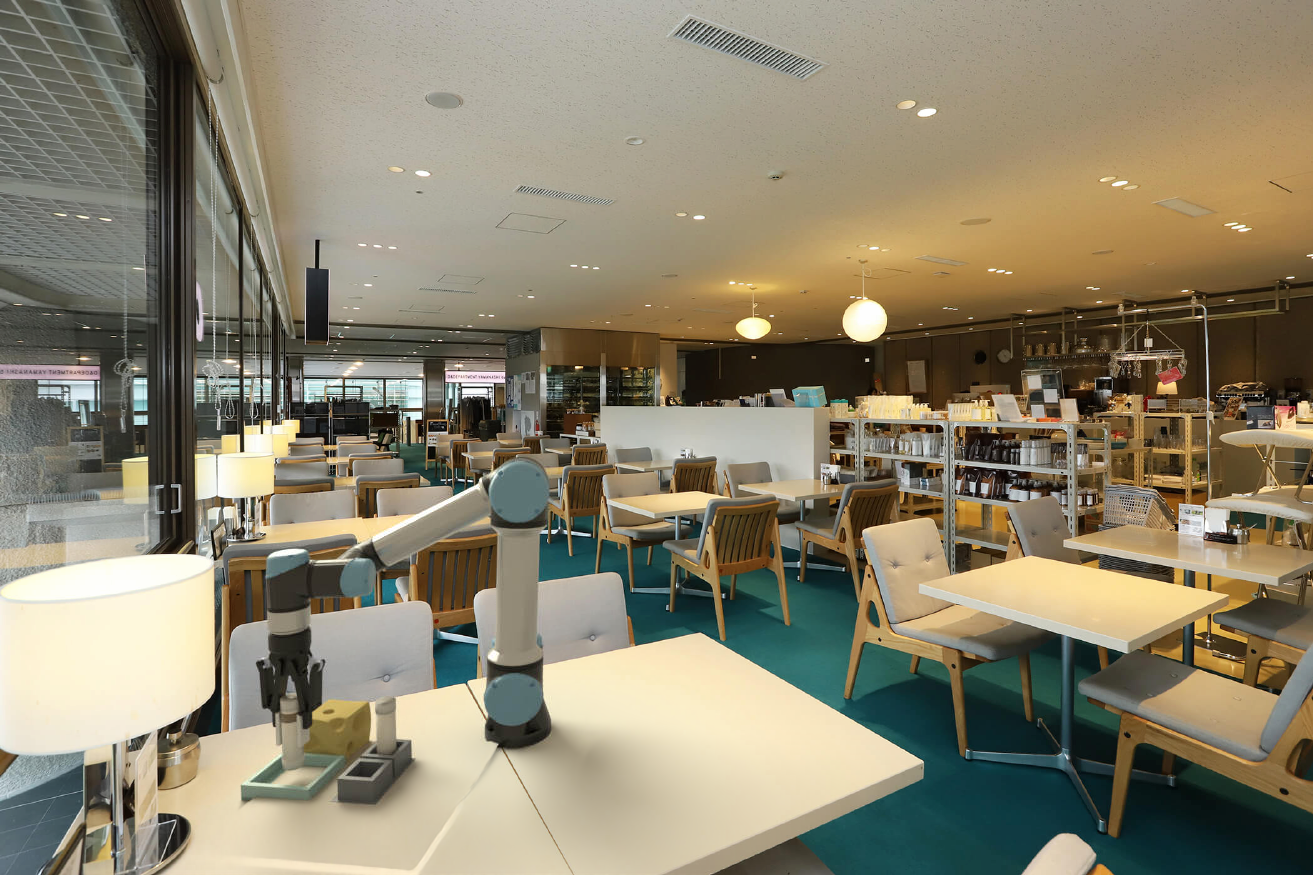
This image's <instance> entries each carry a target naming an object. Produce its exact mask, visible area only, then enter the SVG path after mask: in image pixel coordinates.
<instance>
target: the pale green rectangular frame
mask: <svg viewBox="0 0 1313 875" xmlns="http://www.w3.org/2000/svg"><path fill="white" fill-rule="evenodd" d="M303 766H306V767H307V766H311V767H325V769H324V770H322V772H320V773H319V774H318V775H317V776H316V777H315V778H314V779H313V780H311V781H310V782H309V783H308V784H307V785H306V786H305V785H295V784H279V783H273V782H274V781H276V780H277V779H278V778H279V777H280V776H282V775H283V774H284V773H285V772H286V770H283V769H282V752H280V753H279V754H278V755H277V756H275V757H274V758H273V759H272V760H270V761H269V762H268V763H267V764H265V765H264V766H262V767H261V768H260V769H259V770H258V771H256V772H255V773H254V774H253V775H251V776H250V777H249V778H248V779H247V780H245V781H244V782H242V783H241V784H240V798H241V801H252V800H253V799H254V798H255V797H260V798H263V797H264V798H275V799H291V800H301V801H302V800H303V801H304V800H305V801H310V800H311V798H313V796H315V795H316V794H317V793H318V792H319V791H320V790H321V789H322V788H323V787H324V786H325V785H326V784H327V783H328V782H329V781H330V780H331V779H333V777H335V775H336V774H338V773H339V772H340V771H341V770H342V769H343V768H344V767H345V766H346V761H345V756H342V755H327V754H311V753H305V764H304V765H303Z"/></svg>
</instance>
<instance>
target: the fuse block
mask: <svg viewBox="0 0 1313 875" xmlns="http://www.w3.org/2000/svg"><path fill="white" fill-rule="evenodd" d="M396 710H397V699H396V697H395V696H383V697H380V698H377V699H376V700H375V701H374V713H375V728H376V730H375V733H376V737H375V738H376V741H374V743H373V744H371V745H370V747H369V748H368V749H366V750H365V751H364V752H363V753H362V754H361V755H360V757H358V758H357V759H356V760H355V761H354V762H353V763H351V765H350V766H348V768H346V770H344V772H342V773H341V774H340V775H339V776H338V777H337V778H336V781H337V783H336V784H337V787H336V788H337V794H336V795H335V796H334V797H333V799H331V800H330V802H331V803H343V804H345V803H346V804H357V805H358V804H359V805H373V806H376V805H377V803H378V802H379V801H380V800H381V799H382V798H383V796H385V794H386V793H388V791H389V790H390V789H391V788H392V786H393V785H394V784H395V783H396V782H397V780H398V779H399V778H400V777H402V775H403V774H404V773H405V772H406V771H407V769H409V767H410V766H411V765H412V763H413V762H414V761H415V760H416V758H415V757H413V753H412V752H413V751H412V739H402V738H401V739H399V738H397V715H396V713H397V711H396ZM398 781H399V780H398Z"/></svg>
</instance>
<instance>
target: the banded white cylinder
mask: <svg viewBox="0 0 1313 875" xmlns="http://www.w3.org/2000/svg"><path fill="white" fill-rule="evenodd" d="M280 710H281V727H282V744H281V749H282V750H281V753H282V769H283V770H286V771H288V772H289V771H295V770H298V769H299V768H302V767H303V766H305V765H304V764H305V752H304V745H303V746H302V747H298V746H297V714H299V713H300V708H299V703H298V699H297V694H296V692H291V693H286V695H284V696H282V697H281V698H280ZM286 771H285V772H286Z"/></svg>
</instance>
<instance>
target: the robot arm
mask: <svg viewBox="0 0 1313 875" xmlns="http://www.w3.org/2000/svg"><path fill="white" fill-rule="evenodd" d="M477 482H478V483H477V484H475V485H473V486H471V487H469V488H467V489H465V490H463V491H462V492H461V491H460V493H458V494H455V495H453V496H452V497H450V498H448V499H445V500H444V501H441V502H439V503H437V504H435V505H434V506H431V507H429V508H428V509H426V510H423V511H422V512H420V513H417V514H416V515H413V516H411V517H409V518H408V519H406V520H403V521H401V522H399V523H397V524H396V525H394V526H392V527H390V528H387V529H385V530H383V531H381V532H380V533H377V534H375V535H374V536H372V537H370V538H368V539H366V540H364V541H360V542H356V543H355V544H353V545H351V546H350V547H349V548H348V549H347V550H346V551H344V552H343V553H342V554H340V556H338V557H337V558H336V559H335V558H334V559H311V556H310V552H309V551H308V550H306V549H303V548H302V549H301V548H290V549H289V548H287V549H282V550H276V551H274V552H272V553H270V554H269V555H268V556H267V558H266V562H265V563H266V568H265V569H266V570H265V577H264V578H265V583H266V584H265V585H266V588H265V589H266V601H267V602H266V604H267V605H266V608H267V611H266V613H267V614H266V620H267V622H266V624H267V626H266V627H267V630H268V631H269V632H268V633H267V645H268V646H267V647H268V651H269V652H270V653H269V654H268V655H266V656H264V657H261V658H260V659H259V660H257V661H256V662H255V665H256V667H257V670H258V672H259V673H258V674H259V685H260V686H259V687H260V699H261V700H260V701H261V702H260V703H261V708H262V709H263V710H266V709H267V710H269V711H270V712H271V717H272V718H271V719H272V721H271V722H272V727H273V728H275V745H276V746H277V747H280V746H282V727H281V710H280V698H281V697H282V696H284V695H287V688H288V682H289V678H290V679H291V682H293V684H294V688H295V693H296V694H297V699H298V703H299V708H300V713H299V714H297V746H298V747H302V746H303V745H304V744H306V743H307V742H308V741H309V740H310V731H309V728H310V727H311V726H312V724H313V721H312V712H313V711H315V710H316V709H317V708H319V707H320V706H321V705H322V704H323V671H324V667H325V665H326V659H324V658H321V659H317V658H315V657H314V655H313V653H312V651H311V646H312V642H313V641H312V626H310V624H311V621H312V614H311V612H312V611H311V610H312V609H311V599H331V598H333V599H334V598H335V599H336V598H351V599H353V598H358V597H366V596H369V595H371V593H372V592H373V591H374V589H375V588H374V587H375V584H376V577H377V574H378V573H380V572H382V571H384V570H385V569H387V568H389V567H392V565H394V564H397V563H399V562H401V561H403V560H405V559H406V558H409V557H410V556H412V555H414V554H416V553H419V552H420V551H422V550H424V549H427V548H429V547H431V546H432V545H434V544H436V543H439V542H441V541H443V540H444V539H446V538H448V537H450V536H453V535H454V534H456V533H458V532H460V531H462V530H464V529H466V528H468V527H470V526H473V525H474V524H476V523H478V522H480V521H482V520H484V519H486V518H489V517H490V527H491V528H492V529H493V530H494V531H495V532H496V534H497V545H496V546H497V548H496V552H497V553H496V587H495V589H496V590H495V622H494V623H495V624H494V625H495V627H494V628H495V630H494V637H493V638H492V639H491V642H490V648H489V650H488V652H487V656H486V681H485V682H486V683H485V685H486V686H485V690H484V693H483V703H484V708H485V711H486V713H487V717H486V719H485V722H484V739H485V740H486V742H491V743H495V744H497V748H500V749H501V748H502V749H521V748H526V747H530V746H534V745H536V744H539V743H540V742H542V741H544V740H545V739H546V738H547V737H548V736H549V735H550V733H551V731H552V718H551V715H550V712H549V709H548V706H547V703H546V701H545V698H544V650H543V648H544V643H543V637H542V635H541V634H540V633H538V612H539V610H538V608H539V578H540V577H539V576H540V575H539V572H540V571H539V570H540V539H541V538H540V537H541V533H542V531H544V530H545V528H546V527H548V518H549V517H548V515H549V512H548V511H549V498H550V492H551V490H550V483H549V477H548V474H547V471H546V469H545V468H544V465H542V464H541V463H540V462H539V461H537V460H536V459H534V458H531V457H528V456H515V457H512V458H510V459H508V460H507V461H505V462H504V463H502V464H501V465H499V466H498V467H497V468H495V469H493V470H492V471H490V472H489V473H487V474H485V475H484V476H481V477H480V478H479V481H477ZM308 666H309V668H308Z"/></svg>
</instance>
